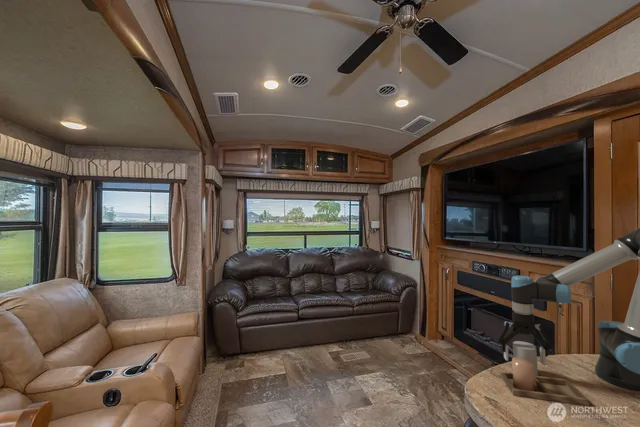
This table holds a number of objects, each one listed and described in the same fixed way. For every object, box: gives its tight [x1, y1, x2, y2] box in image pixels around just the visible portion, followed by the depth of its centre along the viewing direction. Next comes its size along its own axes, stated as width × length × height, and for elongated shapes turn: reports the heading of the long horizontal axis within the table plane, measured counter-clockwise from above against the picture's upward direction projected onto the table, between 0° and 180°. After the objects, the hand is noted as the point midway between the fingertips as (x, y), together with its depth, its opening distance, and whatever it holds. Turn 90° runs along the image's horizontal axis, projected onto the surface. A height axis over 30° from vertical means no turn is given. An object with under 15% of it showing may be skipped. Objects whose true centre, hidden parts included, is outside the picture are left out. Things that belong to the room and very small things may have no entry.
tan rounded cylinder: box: [511, 356, 536, 392], centre depth 105 cm, size 7×7×10 cm
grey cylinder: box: [512, 340, 539, 376], centre depth 116 cm, size 8×8×12 cm
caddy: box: [500, 371, 590, 407], centre depth 104 cm, size 23×13×2 cm, turn 74°
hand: (524, 361), depth 116 cm, fingers open, 13 cm apart
